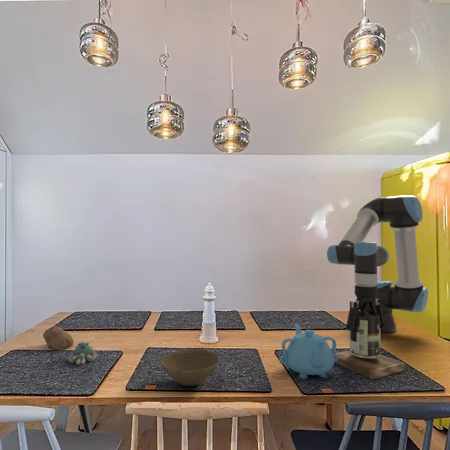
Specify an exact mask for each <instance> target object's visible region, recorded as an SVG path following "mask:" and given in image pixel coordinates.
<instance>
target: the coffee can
mask: <svg viewBox="0 0 450 450" xmlns="http://www.w3.org/2000/svg"><path fill="white" fill-rule="evenodd" d="M379 318H380V315H379V314H376V315H374V314H369V312H366V313H365V315H363V317H362V316H361V317H360V316H356V319H360V326H359V329H358V331H357V332H359V352H357V351H355V350H352V341H351V331H349V330H348V331H349V350H348V351H349V352H350V354H352V355H354V356H357V357H361V358H378V357H379V356H380V355H381V352H380V351H381V349H380V347H381V336H380V329H379V327H380V326H379ZM354 328H355V327H354Z"/></svg>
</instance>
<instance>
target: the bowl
mask: <svg viewBox="0 0 450 450" xmlns="http://www.w3.org/2000/svg"><path fill="white" fill-rule="evenodd" d="M159 362H160V366H161V368H162V370H163V371H164V372H165V373H166V374H167V375H168V376H169V377H170V378H172V380H173V381H174V382H175V383H177V384H178V385H181V386H185V387H192V386H196V385H199V384H200V383H202V382H204V381H206V379H208V378H209V376H210V375H211V374H212V373H214V371H215V370H216V369H217V367H218V366H219V363H220V356H219V355H218V354H217V353H215V352H214V351H210V350H206V349H205V350H204V349H184V350H179V351H175V352H171V353H169V354H166V355H165V356H163V358H161V359H160V361H159Z"/></svg>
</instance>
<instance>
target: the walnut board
mask: <svg viewBox="0 0 450 450" xmlns="http://www.w3.org/2000/svg"><path fill="white" fill-rule="evenodd" d="M349 351H350V350H346V351H342V352H341V351H340V352H337V353H335V354H337V355H338V360H337V361H336V362H334V364H336V365H338V366H340V365H341V367H342V368H346V369H347V368H348V370H350V371H352V372H354V373H357V374H359V375H361V376H364V377H366V378H369V379H371V380H375V379H379V378H382V377H385V376H389V375H393V374H397V373H400V372H403V371H405V370H406V369H405V366H406V364H405V362H402V361H401V360H397V359H395V358H393V357H392V358H391V357H389V356H386V355H383V354H380V356H379V357H378V358H361V357H357V356H354V355H352V354H350V352H349ZM335 357H336V356H334V357H333V358H335Z"/></svg>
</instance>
